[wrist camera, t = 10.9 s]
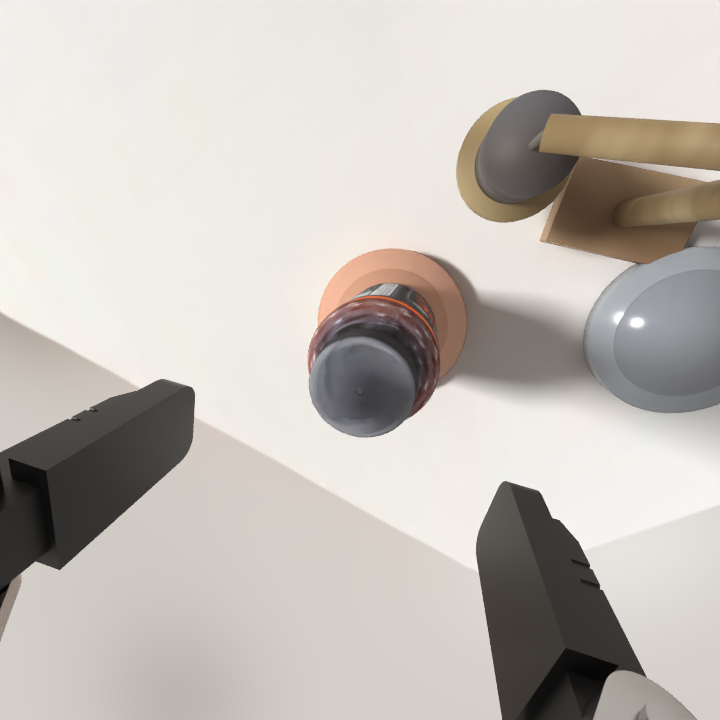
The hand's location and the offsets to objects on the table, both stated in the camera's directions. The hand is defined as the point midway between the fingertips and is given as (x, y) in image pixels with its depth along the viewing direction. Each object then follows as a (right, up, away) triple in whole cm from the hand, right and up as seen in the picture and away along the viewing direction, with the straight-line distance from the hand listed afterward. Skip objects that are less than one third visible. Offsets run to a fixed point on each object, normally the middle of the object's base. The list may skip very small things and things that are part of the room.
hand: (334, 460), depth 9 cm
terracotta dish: (+3, +5, +16) cm, 17 cm away
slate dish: (+20, +4, +13) cm, 24 cm away
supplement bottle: (+3, +5, +15) cm, 16 cm away
